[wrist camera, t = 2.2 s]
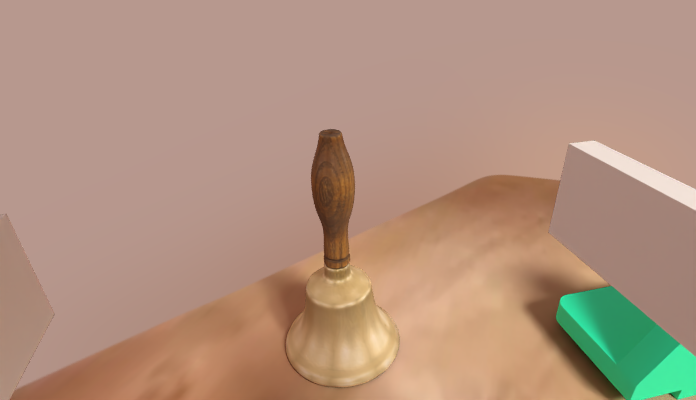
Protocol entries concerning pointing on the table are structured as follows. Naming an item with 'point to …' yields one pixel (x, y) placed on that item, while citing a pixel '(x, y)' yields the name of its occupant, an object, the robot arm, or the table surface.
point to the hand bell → (339, 289)
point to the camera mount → (627, 345)
